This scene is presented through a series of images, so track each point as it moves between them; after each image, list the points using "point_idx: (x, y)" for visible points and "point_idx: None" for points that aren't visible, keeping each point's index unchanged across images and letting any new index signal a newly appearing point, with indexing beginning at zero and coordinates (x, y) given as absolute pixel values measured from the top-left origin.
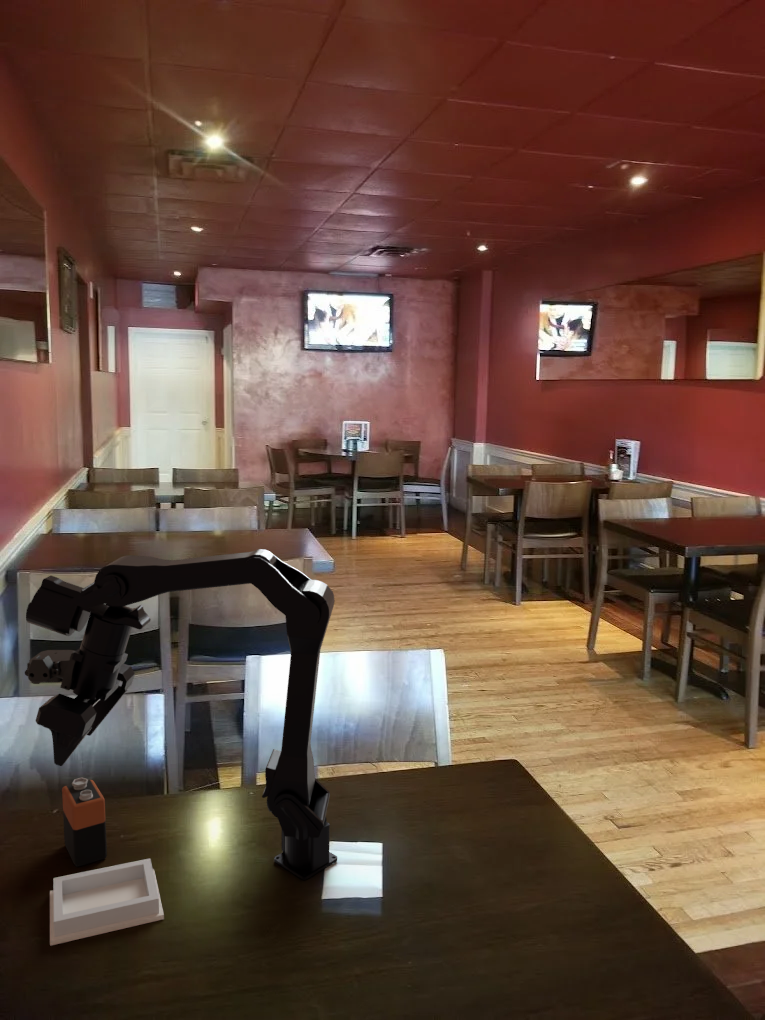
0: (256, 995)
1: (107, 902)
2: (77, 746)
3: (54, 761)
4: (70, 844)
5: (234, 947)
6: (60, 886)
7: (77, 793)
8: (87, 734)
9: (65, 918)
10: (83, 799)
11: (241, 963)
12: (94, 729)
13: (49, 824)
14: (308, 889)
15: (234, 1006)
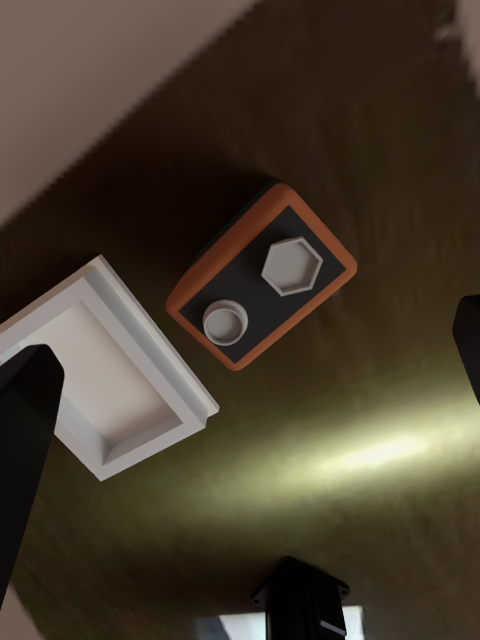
0: (33, 587)
1: (105, 378)
2: (17, 549)
3: (17, 355)
4: (215, 237)
5: (94, 553)
6: (65, 306)
7: (243, 277)
8: (455, 322)
9: None
10: (202, 324)
11: (72, 565)
12: (472, 383)
13: (367, 64)
14: (234, 601)
15: None
